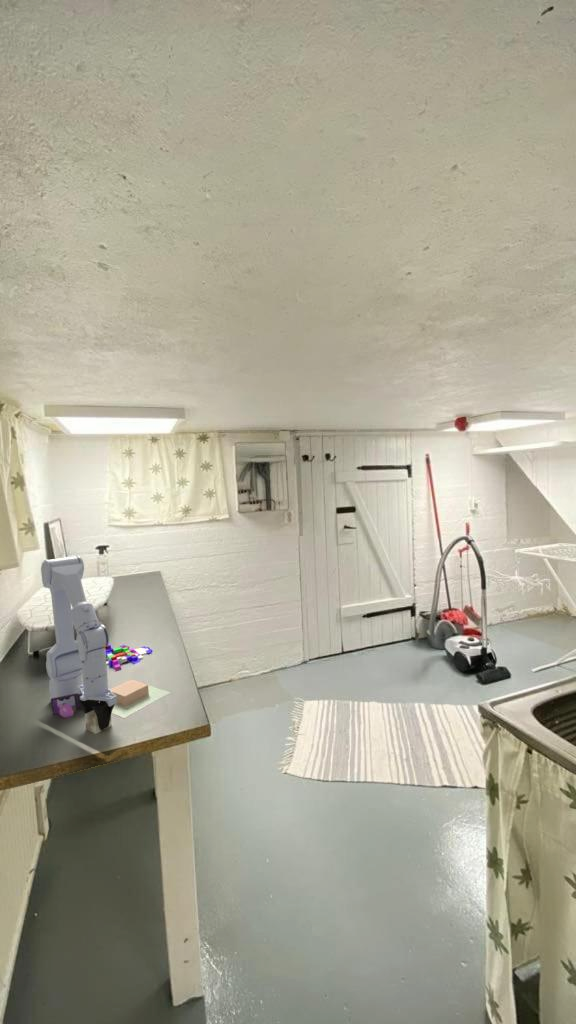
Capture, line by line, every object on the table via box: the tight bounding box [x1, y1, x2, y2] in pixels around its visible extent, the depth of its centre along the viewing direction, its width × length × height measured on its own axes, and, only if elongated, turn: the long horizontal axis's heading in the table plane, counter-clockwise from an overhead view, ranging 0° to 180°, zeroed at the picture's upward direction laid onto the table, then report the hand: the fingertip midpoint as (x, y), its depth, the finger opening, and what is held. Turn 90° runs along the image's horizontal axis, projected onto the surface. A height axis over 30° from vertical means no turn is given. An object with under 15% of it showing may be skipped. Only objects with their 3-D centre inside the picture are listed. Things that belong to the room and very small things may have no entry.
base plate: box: [99, 684, 171, 719], centre depth 123 cm, size 18×16×1 cm
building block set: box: [105, 643, 153, 672], centre depth 159 cm, size 25×20×4 cm
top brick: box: [84, 710, 112, 735], centre depth 107 cm, size 4×4×5 cm
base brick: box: [109, 679, 149, 707], centre depth 123 cm, size 8×8×3 cm
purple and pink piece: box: [50, 693, 83, 719], centre depth 115 cm, size 7×5×9 cm
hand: (98, 725), depth 108 cm, fingers closed on top brick, 4 cm apart
